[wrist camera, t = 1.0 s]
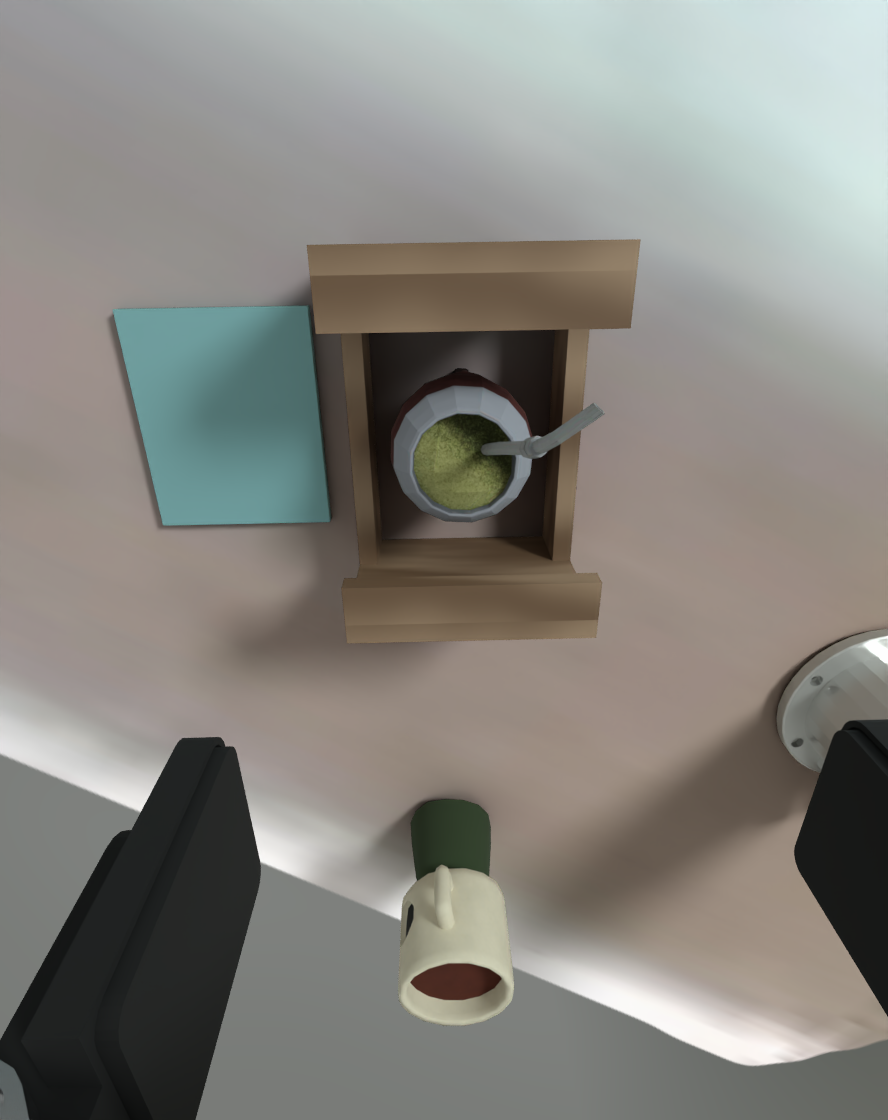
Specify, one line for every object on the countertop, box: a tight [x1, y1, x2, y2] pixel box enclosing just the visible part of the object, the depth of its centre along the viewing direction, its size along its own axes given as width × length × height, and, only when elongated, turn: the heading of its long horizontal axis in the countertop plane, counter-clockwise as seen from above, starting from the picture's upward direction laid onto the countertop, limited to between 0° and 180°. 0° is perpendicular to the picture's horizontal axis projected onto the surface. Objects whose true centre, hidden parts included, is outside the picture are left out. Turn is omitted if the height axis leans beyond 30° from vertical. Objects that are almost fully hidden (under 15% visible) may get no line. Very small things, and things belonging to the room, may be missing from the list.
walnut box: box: [307, 240, 640, 643], centre depth 30 cm, size 17×12×10 cm
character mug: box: [398, 799, 514, 1026], centre depth 43 cm, size 11×7×13 cm, turn 9°
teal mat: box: [113, 306, 331, 525], centre depth 34 cm, size 12×10×1 cm
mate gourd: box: [391, 368, 605, 522], centre depth 28 cm, size 8×8×15 cm
